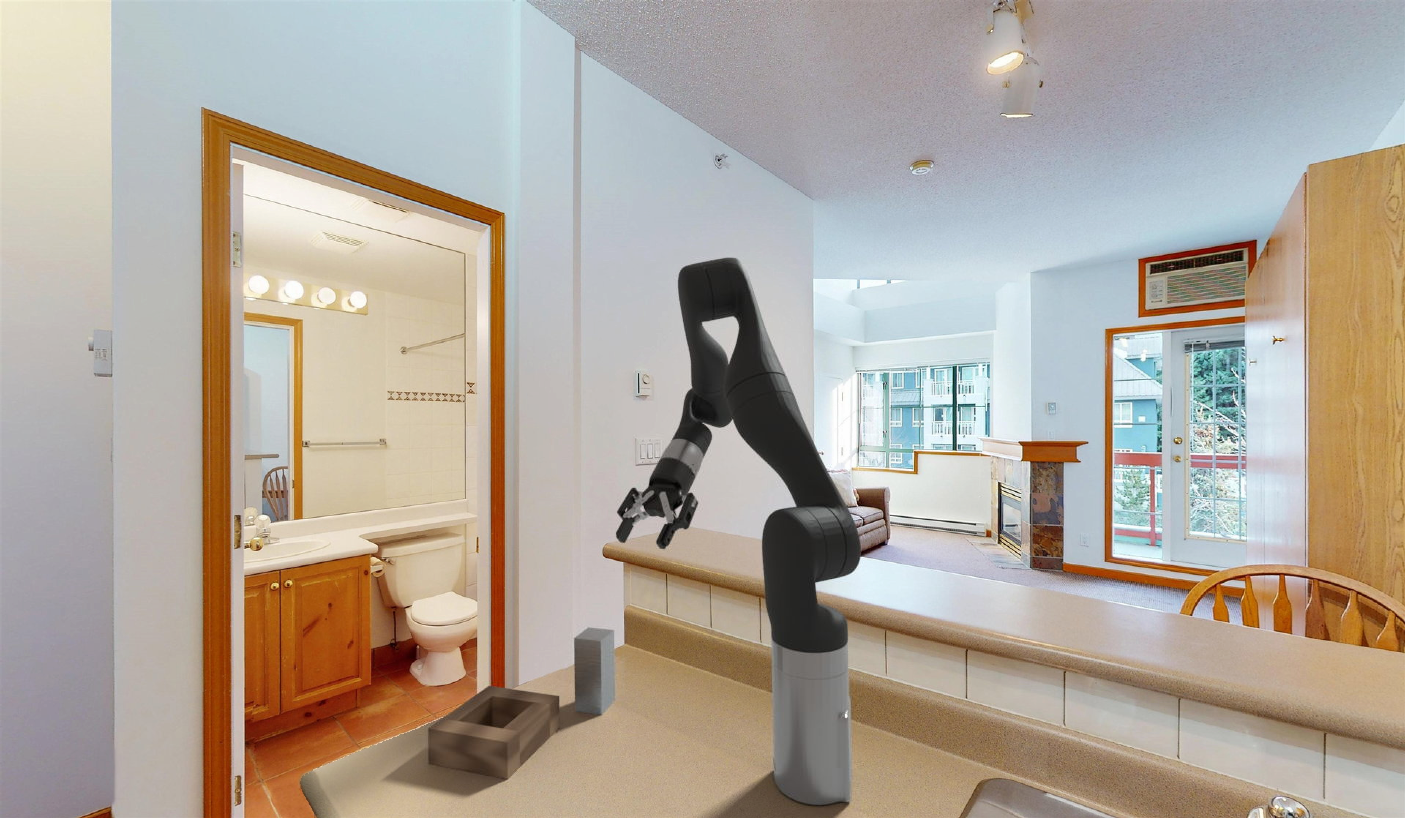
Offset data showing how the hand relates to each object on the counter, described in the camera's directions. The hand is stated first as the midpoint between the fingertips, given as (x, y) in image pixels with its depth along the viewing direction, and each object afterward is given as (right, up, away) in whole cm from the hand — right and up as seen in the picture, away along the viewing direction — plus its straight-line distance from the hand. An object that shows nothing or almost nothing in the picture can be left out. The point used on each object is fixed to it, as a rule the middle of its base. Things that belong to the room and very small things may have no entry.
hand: (639, 543), depth 94 cm
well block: (-17, -23, -18) cm, 34 cm away
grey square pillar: (-6, -23, -8) cm, 25 cm away
